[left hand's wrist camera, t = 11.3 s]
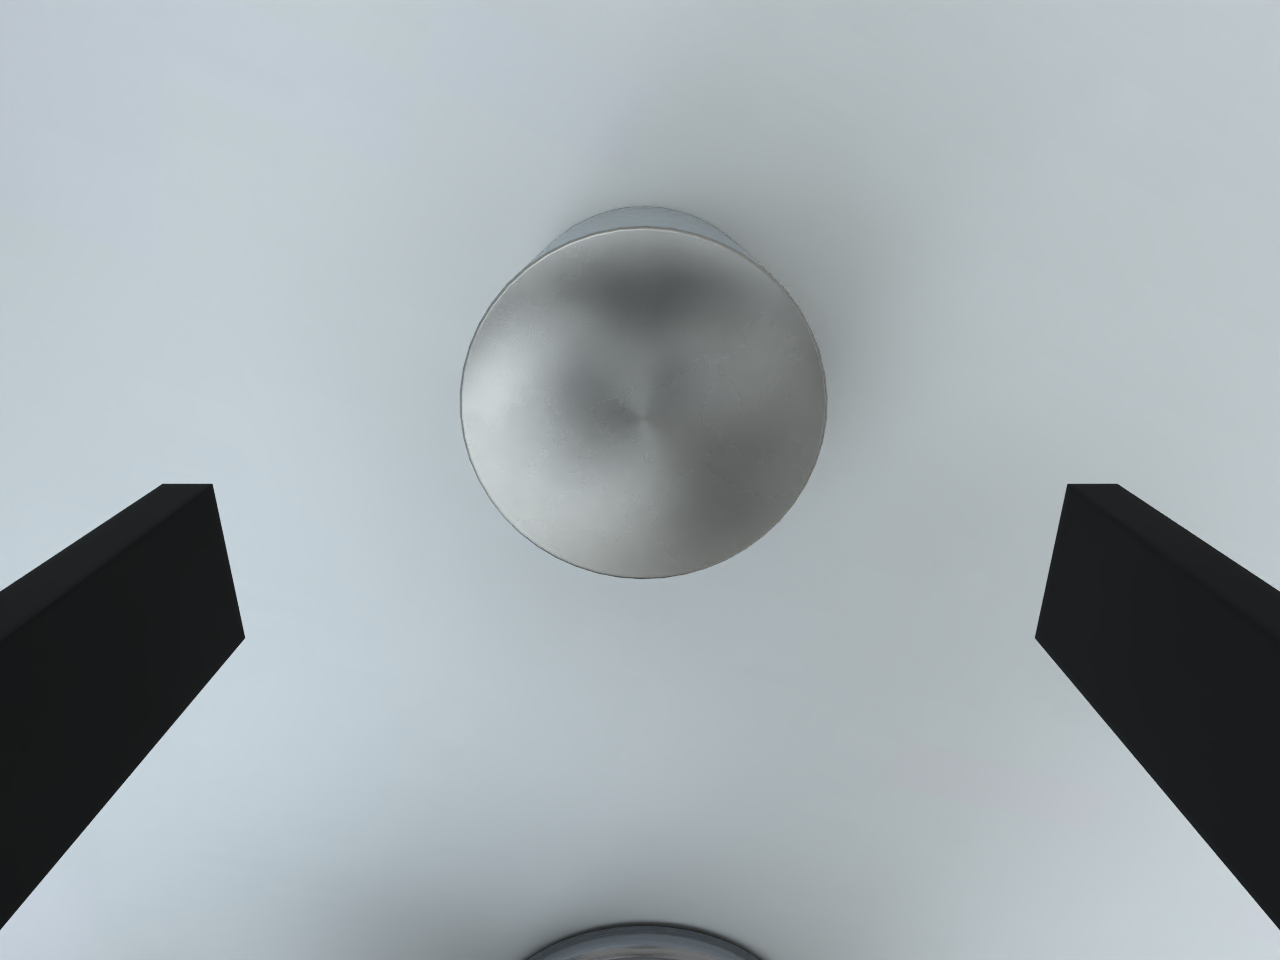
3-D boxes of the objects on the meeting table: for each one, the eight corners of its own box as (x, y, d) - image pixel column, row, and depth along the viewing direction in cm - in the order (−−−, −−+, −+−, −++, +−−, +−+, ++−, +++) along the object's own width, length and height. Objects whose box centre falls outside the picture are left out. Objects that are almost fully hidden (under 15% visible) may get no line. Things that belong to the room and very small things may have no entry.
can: (543, 170, 24) (501, 175, 17) (815, 251, 25) (884, 288, 18) (485, 435, 27) (429, 533, 20) (729, 498, 28) (758, 614, 21)
